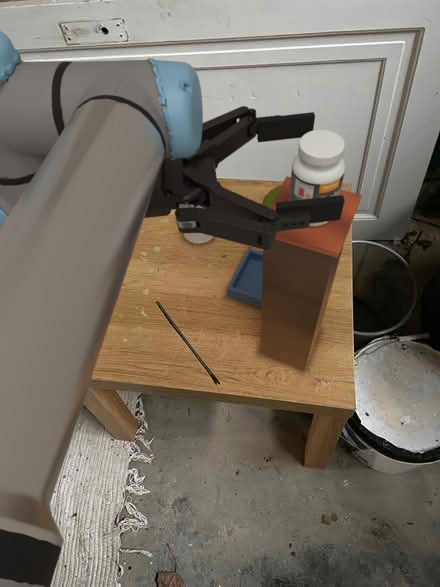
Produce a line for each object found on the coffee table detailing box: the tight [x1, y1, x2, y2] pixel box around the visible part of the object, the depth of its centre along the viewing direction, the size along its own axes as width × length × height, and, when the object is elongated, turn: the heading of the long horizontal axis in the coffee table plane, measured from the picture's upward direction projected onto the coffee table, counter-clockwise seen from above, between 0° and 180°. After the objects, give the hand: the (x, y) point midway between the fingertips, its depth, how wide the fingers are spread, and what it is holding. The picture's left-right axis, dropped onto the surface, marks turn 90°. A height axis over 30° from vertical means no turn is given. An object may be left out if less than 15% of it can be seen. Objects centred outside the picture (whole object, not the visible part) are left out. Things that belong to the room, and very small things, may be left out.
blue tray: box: [226, 247, 263, 308], centre depth 88 cm, size 12×12×3 cm
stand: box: [259, 176, 363, 371], centre depth 66 cm, size 10×10×36 cm
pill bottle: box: [289, 129, 346, 226], centre depth 47 cm, size 6×6×10 cm
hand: (326, 162), depth 45 cm, fingers open, 13 cm apart
